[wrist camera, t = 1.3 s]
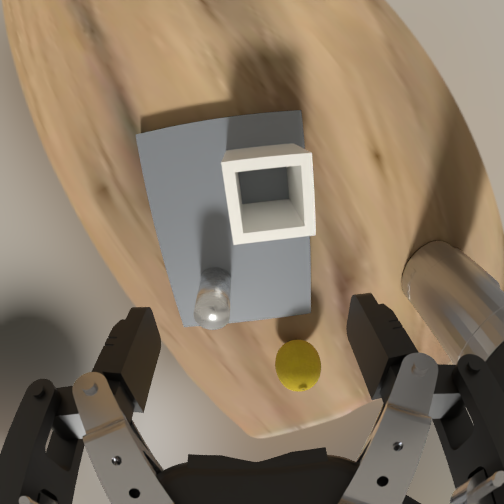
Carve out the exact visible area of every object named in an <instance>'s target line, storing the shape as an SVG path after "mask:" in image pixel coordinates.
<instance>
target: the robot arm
mask: <svg viewBox="0 0 504 504" xmlns="http://www.w3.org/2000/svg"><path fill="white" fill-rule="evenodd" d="M402 290H403V292H404V294H405V296H406V297H407V298H408V300H409V301H410V302H411V304H412V305H413V306H414V308H415V309H416V310H417V312H418V313H419V315H420V316H421V317H422V319H423V320H424V321H425V323H426V324H427V326H428V327H429V328H430V330H431V331H432V333H433V334H434V336H435V337H436V338H437V340H438V341H439V343H440V344H441V346H442V347H443V349H444V350H445V352H446V353H447V355H448V356H449V358H450V359H451V361H452V362H453V364H454V365H439V364H437V363H436V361H435V360H434V359H433V358H432V357H430V356H428V355H426V354H424V353H419V352H418V351H417V349H416V347H415V346H414V344H413V342H412V341H411V339H410V337H409V336H408V334H407V333H406V331H405V329H404V328H402V325H401V323H400V321H398V318H397V317H396V315H395V314H394V312H393V311H392V310H391V309H390V308H388V307H387V306H386V305H384V304H378V303H377V301H376V300H375V298H374V296H373V295H372V294H371V293H365V294H357V295H353V296H352V298H351V302H350V309H349V315H348V320H347V336H348V340H349V342H350V345H351V347H352V350H353V352H354V355H355V357H356V360H357V362H358V365H359V367H360V370H361V372H362V375H363V378H364V380H365V383H366V386H367V388H368V391H369V394H370V396H371V399H372V400H375V399H379V398H382V400H383V403H384V404H383V406H382V408H381V410H380V413H379V415H378V417H377V419H376V422H375V424H374V426H373V428H372V430H371V433H370V435H369V437H368V439H367V441H366V443H365V445H364V447H363V449H362V450H361V452H360V454H359V456H358V458H357V459H356V461H352V460H350V459H347V458H344V457H340V456H334V455H327V452H326V448H317V449H311V450H304V451H295V452H290V453H288V454H284V455H281V456H278V457H274V458H271V459H268V460H264V461H260V462H251V461H246V460H240V459H235V458H230V457H225V456H220V455H219V456H218V455H190V454H189V455H188V462H186V463H182V464H178V465H175V466H172V467H170V468H168V469H166V470H163V468H162V467H161V465H160V464H159V463H158V461H157V460H156V459H155V457H154V456H153V454H152V453H151V451H150V449H149V448H148V446H147V444H146V443H145V441H144V439H143V438H142V436H141V434H140V433H139V431H138V429H137V427H136V426H135V424H134V422H133V420H132V416H133V412H141V413H144V409H145V405H146V401H147V397H148V393H149V389H150V386H151V381H152V378H153V374H154V371H155V367H156V364H157V360H158V357H159V353H160V349H161V338H160V334H159V331H158V328H157V325H156V322H155V319H154V315H153V312H152V310H151V308H150V307H133V308H131V310H130V311H129V313H128V316H127V318H126V320H120V321H119V322H118V323H117V324H116V325H115V326H114V327H113V328H112V330H111V332H110V334H109V336H108V337H109V338H107V340H106V342H105V346H104V347H103V349H102V351H101V353H100V355H99V357H98V359H97V361H96V364H95V366H94V368H93V370H92V372H89V373H85V374H83V375H81V376H80V377H79V378H78V379H77V380H76V381H75V383H74V385H73V386H68V387H61V388H56V387H55V386H54V385H53V383H52V382H51V381H50V380H47V379H39V380H36V381H34V382H33V383H32V384H31V385H30V386H29V387H28V388H27V390H26V392H25V395H24V397H23V399H22V401H21V403H20V406H19V408H18V410H17V412H16V415H15V417H14V420H13V422H12V425H11V427H10V429H9V432H8V435H7V437H6V440H5V443H4V445H3V448H2V451H1V454H0V504H72V501H73V495H74V490H75V485H76V480H77V475H78V470H79V466H80V462H81V457H82V452H83V449H84V445H85V447H86V450H87V452H88V455H89V457H90V460H91V462H92V464H93V467H94V469H95V472H96V473H97V476H98V478H99V480H100V482H101V485H102V487H103V489H104V491H105V493H106V495H107V496H108V498H109V500H110V502H111V504H421V503H419V502H417V501H416V500H414V499H412V498H411V497H409V496H407V495H406V493H407V491H408V489H409V486H410V484H411V481H412V479H413V476H414V474H415V471H416V468H417V466H418V463H419V460H420V457H421V454H422V451H423V448H424V445H425V442H426V439H427V435H428V432H429V429H430V425H431V419H432V420H433V422H434V425H435V428H436V431H437V433H438V436H439V439H440V441H441V444H442V447H443V450H444V453H445V456H446V459H447V462H448V465H449V468H450V472H451V475H452V478H453V481H454V485H455V488H456V489H455V491H454V492H453V494H452V496H451V499H450V504H504V292H503V291H502V290H501V289H500V285H499V283H498V282H497V281H496V280H495V279H494V278H493V277H492V276H491V275H489V274H488V273H487V272H486V271H485V270H484V269H483V268H481V267H480V266H479V265H478V264H477V263H476V262H474V261H473V260H472V259H471V258H470V257H468V256H467V255H466V254H465V253H464V252H462V251H461V250H460V249H459V248H453V247H452V246H451V245H449V244H448V243H446V242H444V241H433V242H430V243H428V244H426V245H424V246H423V247H421V248H420V249H419V250H418V251H417V252H415V254H414V255H413V256H412V257H411V258H410V260H409V262H408V263H407V265H406V267H405V270H404V272H403V276H402ZM466 408H467V410H468V412H469V414H470V416H471V418H472V421H473V423H472V421H471V419H470V417H469V415H468V412H467V410H466ZM473 424H474V426H473ZM51 429H52V430H53V432H52V435H51V439H50V442H49V445H48V448H47V451H45V445H46V442H47V438H48V436H49V433H50V430H51Z"/></svg>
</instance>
